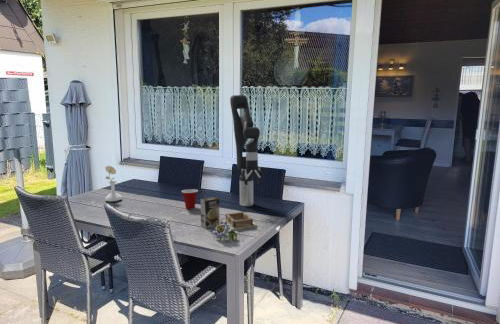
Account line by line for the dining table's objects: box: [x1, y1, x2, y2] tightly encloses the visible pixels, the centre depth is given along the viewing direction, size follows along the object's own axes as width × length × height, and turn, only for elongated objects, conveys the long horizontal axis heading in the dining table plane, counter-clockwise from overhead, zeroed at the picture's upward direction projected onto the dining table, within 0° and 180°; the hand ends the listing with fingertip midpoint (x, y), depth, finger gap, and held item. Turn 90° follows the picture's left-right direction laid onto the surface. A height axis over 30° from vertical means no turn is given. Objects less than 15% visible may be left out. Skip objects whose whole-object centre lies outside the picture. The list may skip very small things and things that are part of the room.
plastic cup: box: [181, 188, 199, 210], centre depth 243 cm, size 11×11×12 cm
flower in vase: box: [104, 165, 123, 203], centre depth 260 cm, size 13×11×25 cm
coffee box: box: [200, 196, 220, 229], centre depth 210 cm, size 9×6×16 cm
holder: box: [221, 211, 258, 231], centre depth 213 cm, size 16×16×4 cm
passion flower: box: [212, 220, 240, 243], centre depth 191 cm, size 11×11×12 cm
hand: (252, 184), depth 234 cm, fingers open, 8 cm apart
